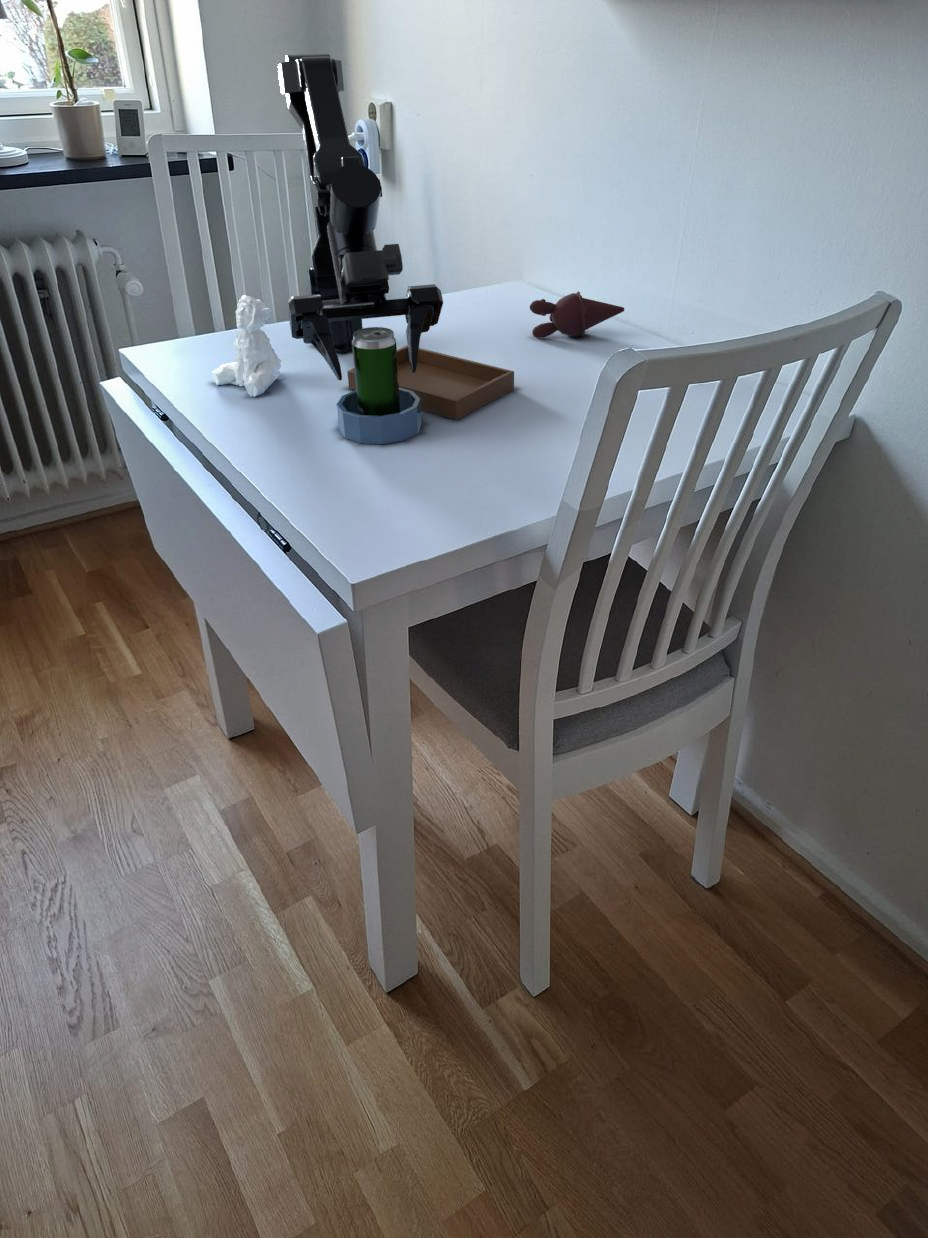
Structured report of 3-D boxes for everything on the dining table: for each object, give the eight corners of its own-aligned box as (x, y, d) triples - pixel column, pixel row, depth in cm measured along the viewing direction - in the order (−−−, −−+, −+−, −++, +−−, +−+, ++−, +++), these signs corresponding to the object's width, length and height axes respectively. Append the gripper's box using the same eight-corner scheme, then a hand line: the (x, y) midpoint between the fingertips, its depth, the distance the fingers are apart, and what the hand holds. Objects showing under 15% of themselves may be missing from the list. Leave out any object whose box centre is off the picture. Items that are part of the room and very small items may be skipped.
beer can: (372, 439, 108) (364, 343, 101) (352, 425, 112) (343, 331, 105) (409, 429, 111) (404, 334, 104) (388, 415, 114) (382, 323, 107)
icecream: (618, 285, 140) (526, 296, 140) (628, 285, 133) (531, 297, 133) (620, 330, 142) (530, 341, 142) (630, 332, 135) (535, 344, 135)
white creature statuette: (210, 383, 124) (193, 298, 117) (255, 366, 130) (242, 283, 123) (254, 398, 120) (240, 309, 113) (299, 379, 125) (289, 294, 118)
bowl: (324, 431, 110) (321, 404, 108) (377, 405, 117) (375, 380, 115) (384, 451, 105) (382, 424, 103) (436, 423, 112) (435, 397, 110)
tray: (348, 388, 122) (347, 370, 121) (409, 361, 131) (408, 344, 129) (456, 420, 113) (456, 401, 111) (514, 389, 121) (514, 371, 120)
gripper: (278, 224, 99) (300, 351, 97) (437, 213, 103) (462, 335, 100) (281, 279, 110) (301, 394, 107) (425, 267, 113) (447, 378, 111)
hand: (377, 374), depth 106 cm, fingers open, 9 cm apart
